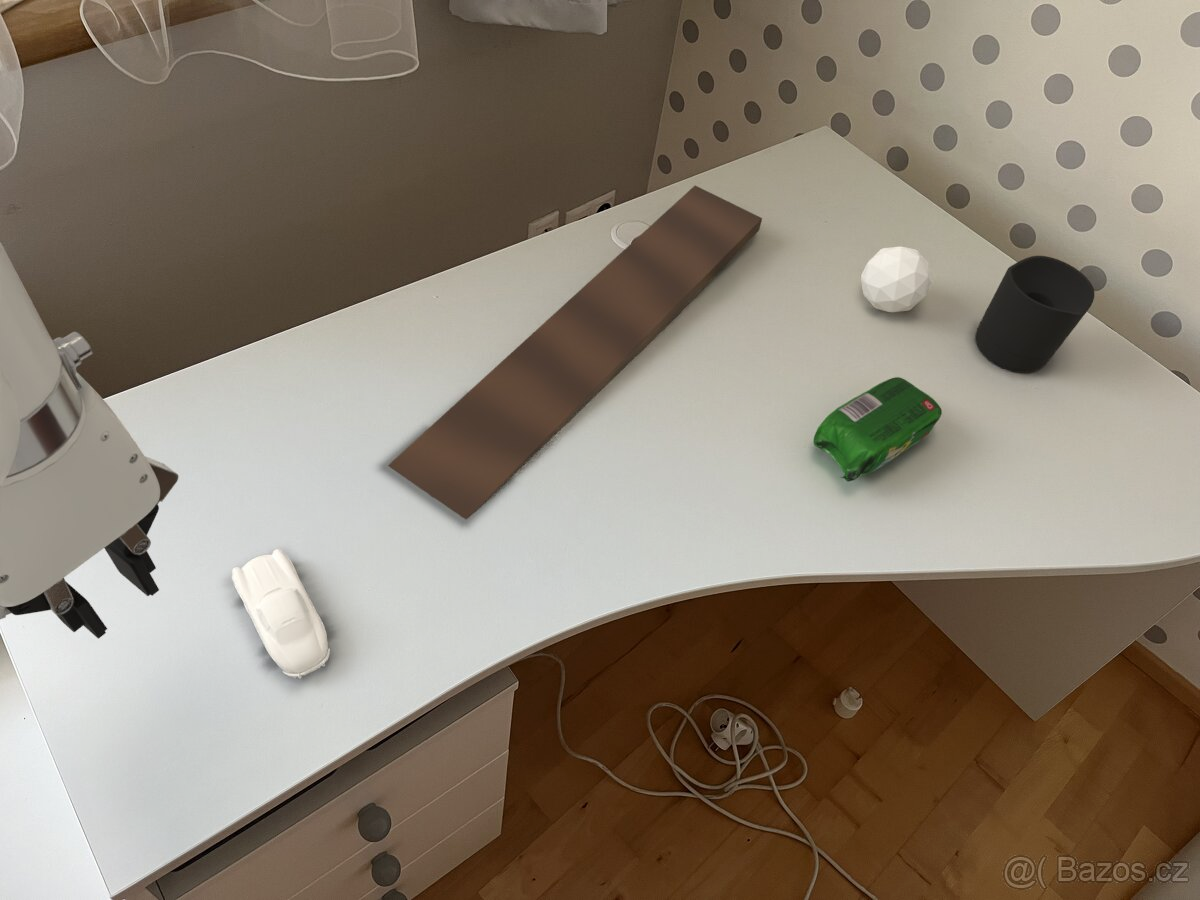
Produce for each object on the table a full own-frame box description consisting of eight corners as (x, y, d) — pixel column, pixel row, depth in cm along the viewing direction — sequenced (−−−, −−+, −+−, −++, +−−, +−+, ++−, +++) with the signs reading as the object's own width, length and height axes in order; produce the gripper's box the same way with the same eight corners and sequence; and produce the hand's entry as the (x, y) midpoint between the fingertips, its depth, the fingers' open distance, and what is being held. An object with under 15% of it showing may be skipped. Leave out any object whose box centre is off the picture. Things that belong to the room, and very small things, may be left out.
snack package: (792, 453, 92) (807, 420, 88) (891, 392, 99) (908, 359, 95) (843, 500, 89) (860, 468, 85) (941, 434, 96) (961, 401, 92)
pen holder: (1060, 380, 103) (1106, 316, 95) (980, 372, 102) (1020, 307, 95) (1038, 324, 109) (1080, 259, 101) (962, 316, 108) (999, 250, 101)
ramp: (465, 533, 84) (464, 500, 80) (387, 479, 88) (382, 444, 83) (753, 252, 116) (763, 217, 111) (688, 219, 119) (695, 184, 114)
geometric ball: (878, 309, 112) (918, 253, 109) (914, 333, 105) (957, 275, 103) (836, 283, 108) (876, 225, 106) (871, 307, 102) (914, 246, 99)
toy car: (285, 554, 79) (278, 532, 76) (342, 662, 73) (336, 643, 70) (230, 578, 77) (221, 557, 74) (285, 691, 71) (277, 673, 68)
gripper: (92, 286, 48) (183, 490, 62) (-246, 474, 39) (-48, 662, 53) (186, 352, 45) (258, 548, 60) (-150, 568, 36) (30, 738, 51)
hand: (113, 600), depth 56 cm, fingers open, 3 cm apart
